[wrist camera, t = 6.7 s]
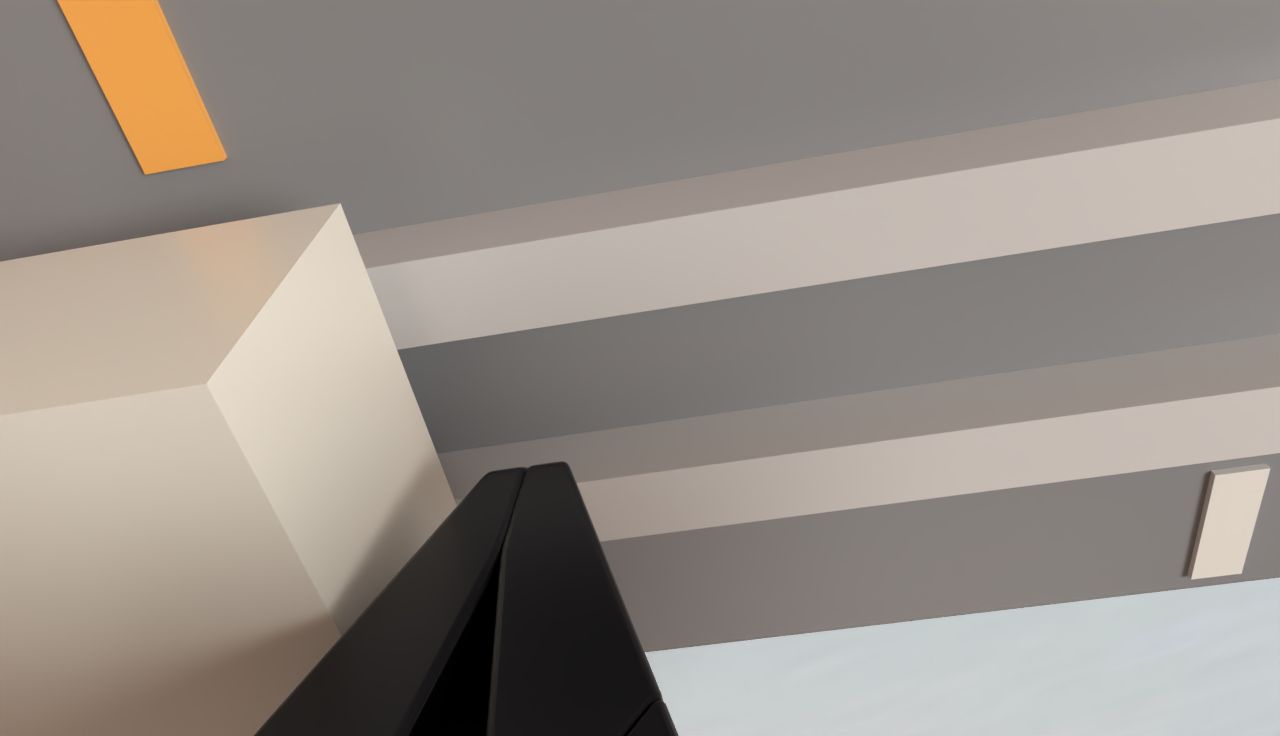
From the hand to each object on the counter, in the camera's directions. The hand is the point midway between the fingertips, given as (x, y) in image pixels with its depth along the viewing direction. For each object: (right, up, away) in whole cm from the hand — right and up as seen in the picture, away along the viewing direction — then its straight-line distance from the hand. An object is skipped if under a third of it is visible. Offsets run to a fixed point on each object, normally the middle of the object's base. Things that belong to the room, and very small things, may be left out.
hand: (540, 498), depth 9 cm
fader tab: (-3, +1, +2) cm, 4 cm away
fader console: (+3, +3, +4) cm, 5 cm away
